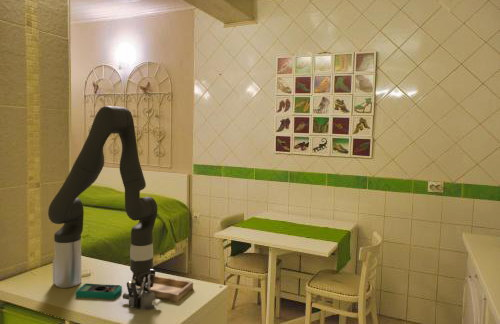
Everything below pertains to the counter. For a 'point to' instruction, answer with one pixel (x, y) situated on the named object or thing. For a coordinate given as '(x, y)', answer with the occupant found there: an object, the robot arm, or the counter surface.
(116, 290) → the digital multimeter
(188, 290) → the oak tray
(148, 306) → the gray bottle
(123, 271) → the counter surface
